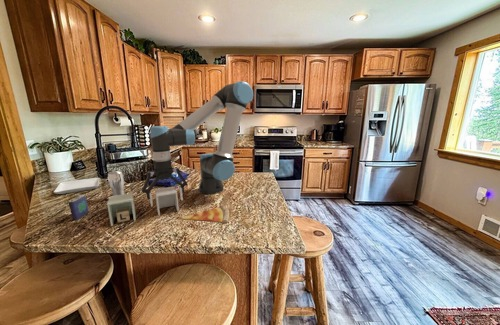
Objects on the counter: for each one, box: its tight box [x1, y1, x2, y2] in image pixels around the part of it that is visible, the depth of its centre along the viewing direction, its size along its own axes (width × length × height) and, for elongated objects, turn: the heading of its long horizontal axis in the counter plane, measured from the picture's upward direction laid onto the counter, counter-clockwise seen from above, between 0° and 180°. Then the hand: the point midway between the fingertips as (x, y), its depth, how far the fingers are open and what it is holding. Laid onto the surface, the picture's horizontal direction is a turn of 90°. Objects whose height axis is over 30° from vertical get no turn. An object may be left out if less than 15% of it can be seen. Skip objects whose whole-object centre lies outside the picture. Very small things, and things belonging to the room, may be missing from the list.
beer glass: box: [107, 170, 125, 196], centre depth 112 cm, size 7×7×15 cm
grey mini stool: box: [154, 186, 180, 217], centre depth 98 cm, size 9×9×10 cm
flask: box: [68, 193, 90, 222], centre depth 93 cm, size 9×3×11 cm, turn 8°
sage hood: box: [106, 192, 137, 227], centre depth 89 cm, size 9×9×10 cm
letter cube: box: [116, 207, 131, 223], centre depth 90 cm, size 5×4×4 cm
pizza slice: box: [179, 203, 230, 224], centre depth 96 cm, size 16×22×2 cm
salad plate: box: [53, 177, 100, 195], centre depth 131 cm, size 21×21×3 cm
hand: (167, 202), depth 98 cm, fingers open, 13 cm apart
